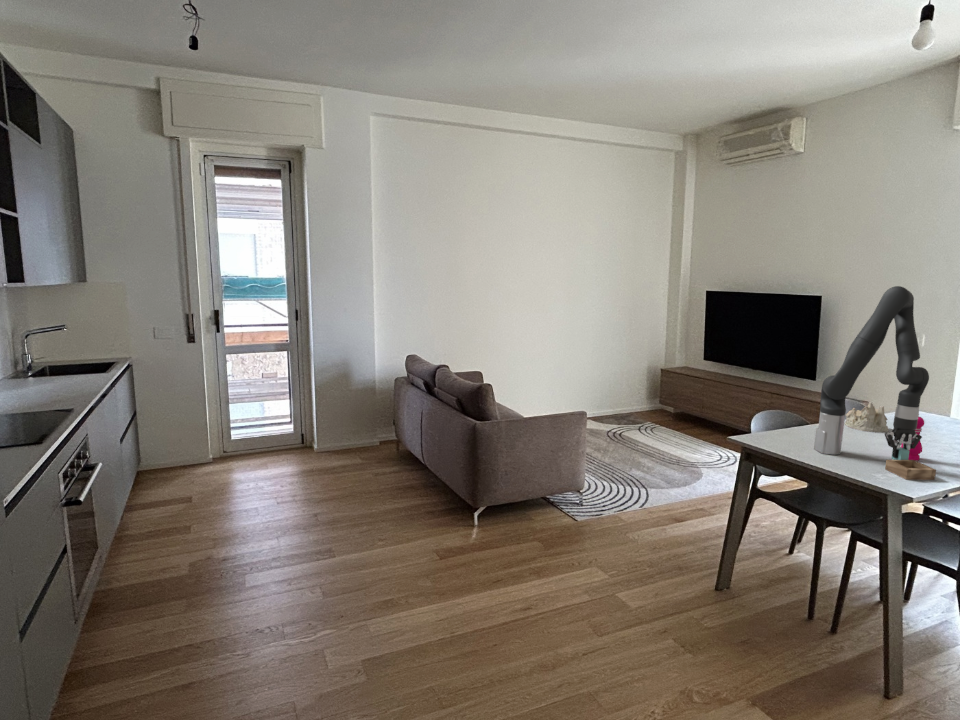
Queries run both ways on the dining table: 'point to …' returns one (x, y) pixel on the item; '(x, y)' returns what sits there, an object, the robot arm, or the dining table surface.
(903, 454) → the teal block
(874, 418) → the cream rough lump
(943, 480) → the dining table surface
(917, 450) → the pepper mill
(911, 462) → the wooden tray
